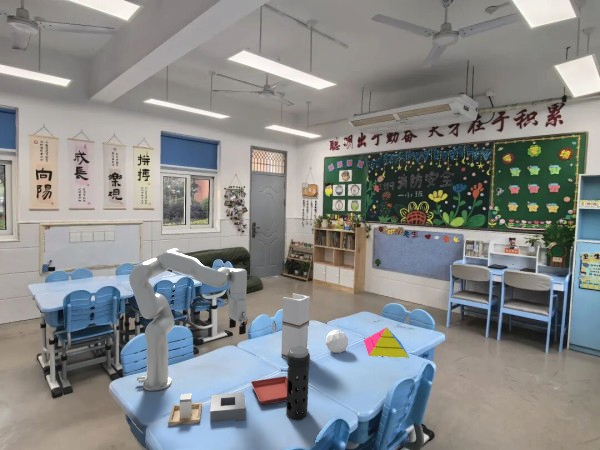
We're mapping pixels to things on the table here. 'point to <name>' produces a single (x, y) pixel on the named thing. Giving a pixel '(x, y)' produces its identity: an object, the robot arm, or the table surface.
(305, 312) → the white banded pillar
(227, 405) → the block
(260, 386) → the plant saucer
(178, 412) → the tray
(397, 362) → the table surface
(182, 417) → the plug
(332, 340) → the geodesic sphere
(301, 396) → the muzzle brake
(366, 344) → the pyramid toy
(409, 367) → the table surface
